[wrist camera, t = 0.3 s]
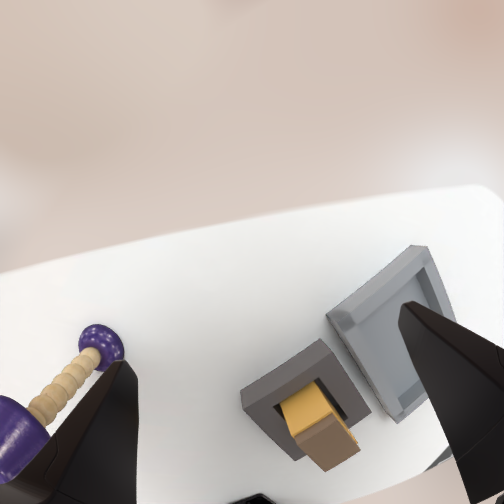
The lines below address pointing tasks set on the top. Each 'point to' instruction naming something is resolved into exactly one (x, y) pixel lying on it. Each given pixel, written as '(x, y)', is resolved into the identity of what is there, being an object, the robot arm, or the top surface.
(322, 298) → the top surface
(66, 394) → the toy lamp
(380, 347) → the parts tray
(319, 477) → the top surface
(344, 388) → the fuse holder
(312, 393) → the block
